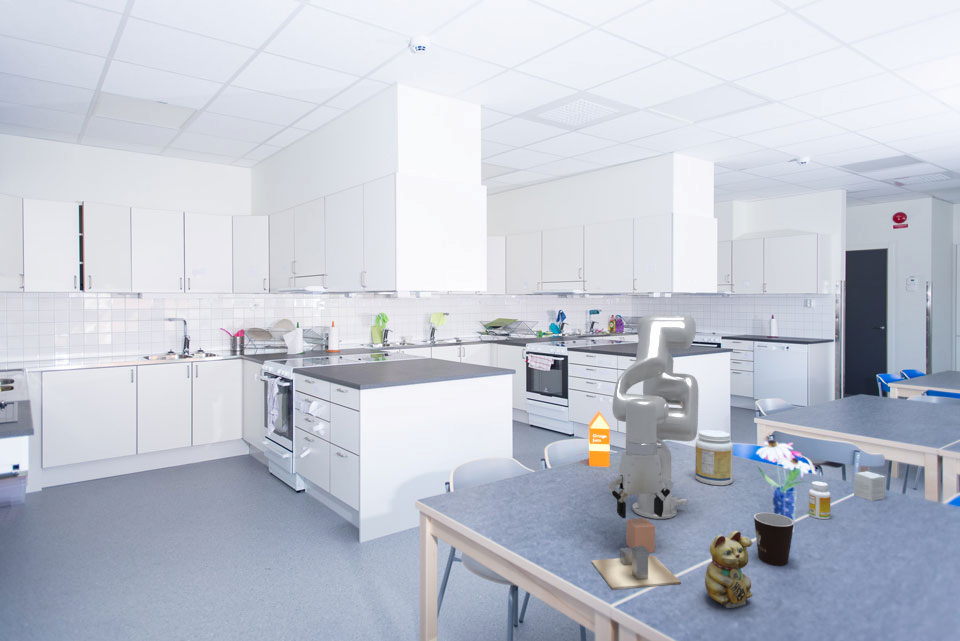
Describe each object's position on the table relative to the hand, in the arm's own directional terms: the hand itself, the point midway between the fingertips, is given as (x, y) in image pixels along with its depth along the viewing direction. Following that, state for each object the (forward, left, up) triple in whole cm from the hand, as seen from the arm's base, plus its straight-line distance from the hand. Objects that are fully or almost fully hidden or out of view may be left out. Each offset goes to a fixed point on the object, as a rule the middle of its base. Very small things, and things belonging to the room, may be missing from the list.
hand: (640, 515), depth 141 cm
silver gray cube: (+6, +7, -9) cm, 13 cm away
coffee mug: (-31, +9, -9) cm, 33 cm away
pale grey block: (-90, -25, -9) cm, 93 cm away
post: (+6, +14, -9) cm, 18 cm away
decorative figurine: (-8, +25, -9) cm, 28 cm away
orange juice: (-18, -75, -9) cm, 77 cm away
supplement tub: (-50, -48, -9) cm, 69 cm away
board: (+6, +11, -9) cm, 16 cm away
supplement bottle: (-62, -13, -9) cm, 63 cm away
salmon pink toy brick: (-1, -1, -9) cm, 9 cm away
